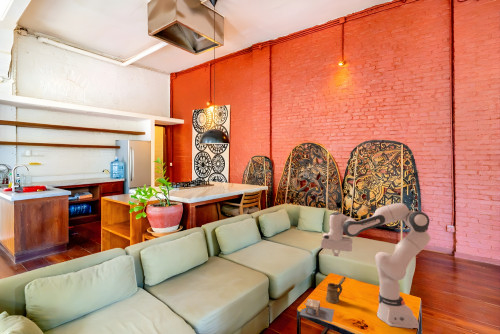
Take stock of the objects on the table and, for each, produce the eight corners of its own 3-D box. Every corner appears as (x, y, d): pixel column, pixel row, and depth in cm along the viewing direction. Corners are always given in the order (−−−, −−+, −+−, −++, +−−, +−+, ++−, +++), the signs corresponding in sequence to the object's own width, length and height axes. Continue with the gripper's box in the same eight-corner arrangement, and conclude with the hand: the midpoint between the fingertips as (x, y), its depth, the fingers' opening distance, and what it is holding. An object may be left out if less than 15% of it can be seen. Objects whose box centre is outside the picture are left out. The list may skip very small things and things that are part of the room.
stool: (319, 301, 170) (307, 298, 173) (318, 307, 163) (305, 304, 166) (319, 309, 170) (307, 306, 173) (318, 316, 163) (305, 313, 166)
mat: (334, 310, 169) (334, 309, 169) (331, 322, 157) (331, 322, 157) (304, 303, 177) (304, 303, 177) (299, 315, 165) (299, 314, 165)
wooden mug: (346, 306, 174) (346, 280, 174) (325, 302, 178) (325, 277, 178) (345, 299, 183) (345, 274, 182) (325, 296, 187) (325, 272, 186)
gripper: (352, 236, 173) (352, 256, 173) (321, 233, 181) (321, 252, 182) (352, 239, 167) (352, 259, 168) (320, 235, 175) (320, 255, 176)
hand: (336, 256), depth 175 cm, fingers closed
